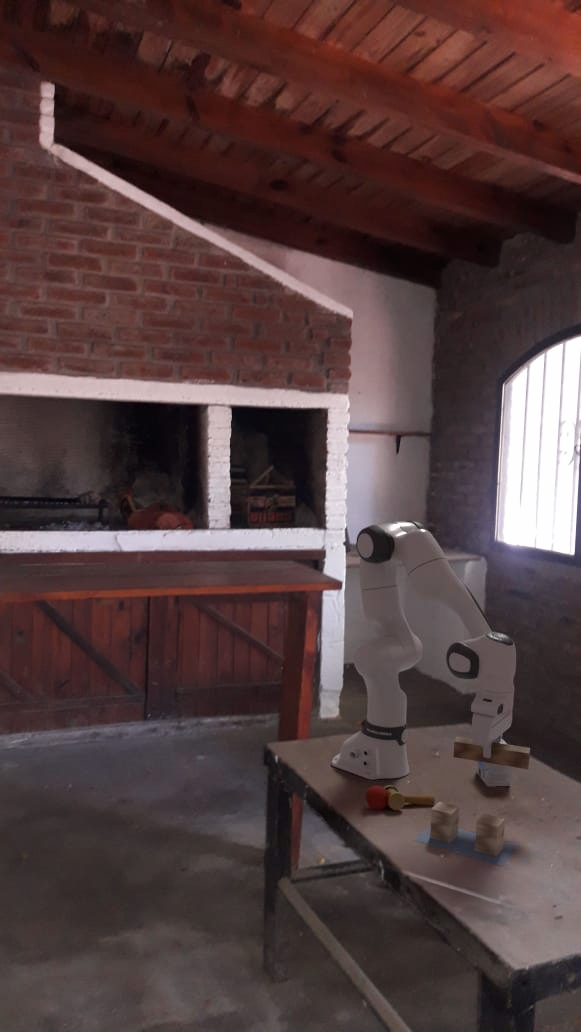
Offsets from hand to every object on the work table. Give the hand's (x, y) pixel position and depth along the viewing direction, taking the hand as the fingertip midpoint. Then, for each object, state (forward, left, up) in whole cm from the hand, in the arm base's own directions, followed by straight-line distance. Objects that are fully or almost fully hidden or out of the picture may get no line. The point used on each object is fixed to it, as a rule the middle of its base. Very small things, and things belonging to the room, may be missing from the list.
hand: (491, 753), depth 207 cm
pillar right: (+6, -16, -17) cm, 24 cm away
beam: (0, 0, -2) cm, 2 cm away
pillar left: (-5, -16, -17) cm, 24 cm away
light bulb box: (-8, +27, -17) cm, 33 cm away
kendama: (-21, -6, -18) cm, 28 cm away
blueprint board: (0, -16, -17) cm, 24 cm away
